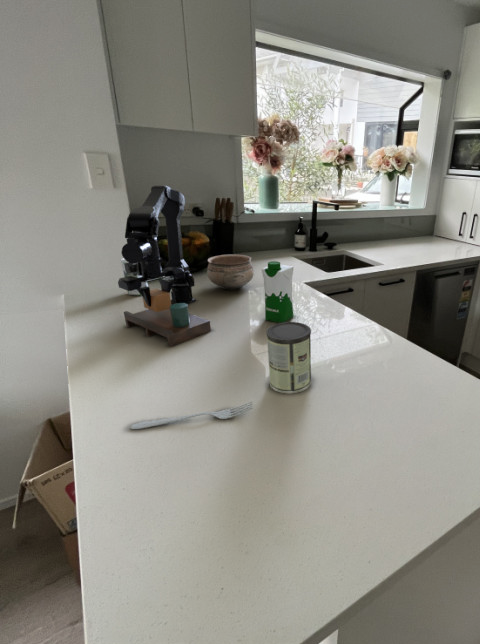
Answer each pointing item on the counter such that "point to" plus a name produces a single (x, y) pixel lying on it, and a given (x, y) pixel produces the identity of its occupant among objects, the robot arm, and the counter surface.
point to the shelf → (167, 325)
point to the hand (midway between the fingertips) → (157, 304)
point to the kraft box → (158, 300)
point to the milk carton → (278, 292)
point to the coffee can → (289, 357)
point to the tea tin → (180, 315)
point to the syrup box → (123, 261)
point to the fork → (220, 414)
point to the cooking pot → (230, 271)
